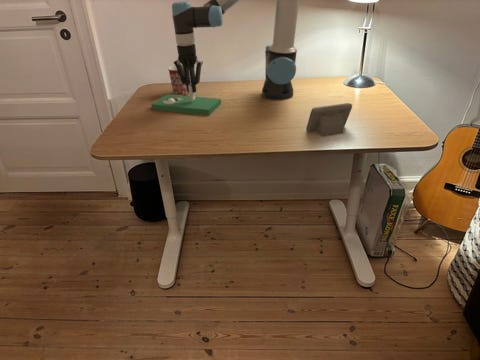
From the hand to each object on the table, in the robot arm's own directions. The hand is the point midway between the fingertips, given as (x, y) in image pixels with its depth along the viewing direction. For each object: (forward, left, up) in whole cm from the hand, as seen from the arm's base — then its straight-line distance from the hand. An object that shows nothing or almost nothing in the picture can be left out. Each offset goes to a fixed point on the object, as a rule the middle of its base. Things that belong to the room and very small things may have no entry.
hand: (192, 99), depth 156 cm
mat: (+3, 0, -4) cm, 5 cm away
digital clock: (-61, +10, -4) cm, 62 cm away
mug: (+14, -16, -4) cm, 22 cm away
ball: (+11, 0, -2) cm, 11 cm away
